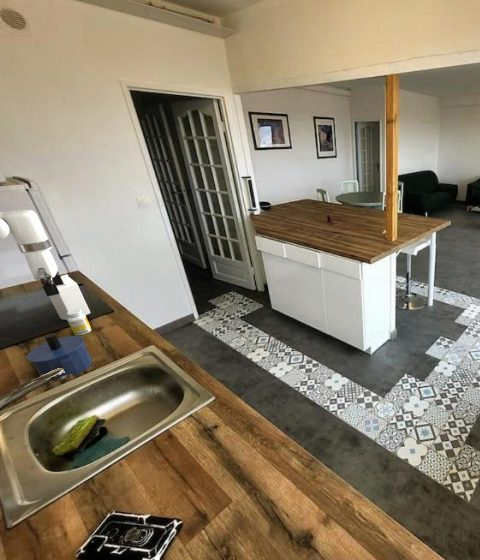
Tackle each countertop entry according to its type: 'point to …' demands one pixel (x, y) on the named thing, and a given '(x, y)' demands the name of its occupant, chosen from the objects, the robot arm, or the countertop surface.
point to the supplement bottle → (78, 322)
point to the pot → (67, 363)
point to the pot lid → (55, 348)
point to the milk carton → (69, 298)
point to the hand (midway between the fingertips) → (56, 289)
